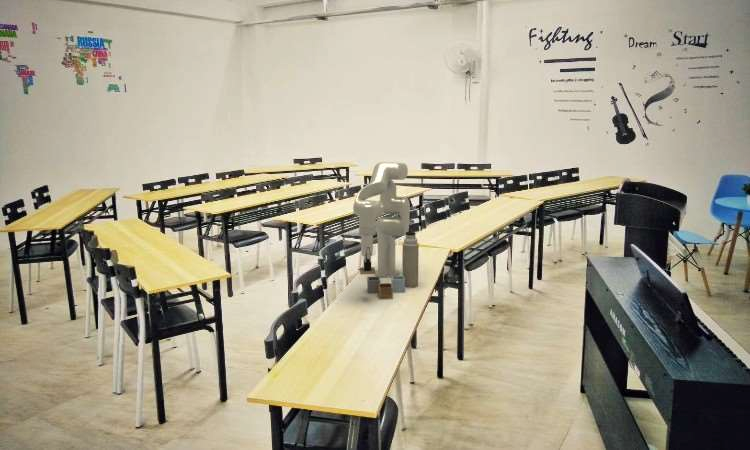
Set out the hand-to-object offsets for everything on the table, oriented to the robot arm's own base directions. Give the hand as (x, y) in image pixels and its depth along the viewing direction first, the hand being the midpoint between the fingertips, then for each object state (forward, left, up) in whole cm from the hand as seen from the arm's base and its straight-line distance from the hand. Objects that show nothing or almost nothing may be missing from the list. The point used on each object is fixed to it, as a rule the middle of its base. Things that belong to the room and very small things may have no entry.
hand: (367, 268), depth 250 cm
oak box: (-2, +9, -15) cm, 18 cm away
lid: (0, 0, -2) cm, 2 cm away
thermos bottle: (-17, +23, -15) cm, 32 cm away
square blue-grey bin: (-10, +16, -15) cm, 24 cm away
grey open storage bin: (-10, +4, -15) cm, 19 cm away
